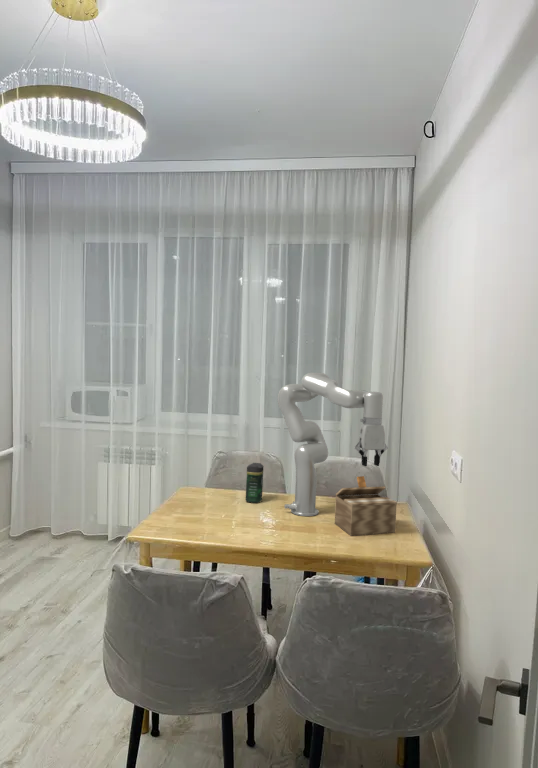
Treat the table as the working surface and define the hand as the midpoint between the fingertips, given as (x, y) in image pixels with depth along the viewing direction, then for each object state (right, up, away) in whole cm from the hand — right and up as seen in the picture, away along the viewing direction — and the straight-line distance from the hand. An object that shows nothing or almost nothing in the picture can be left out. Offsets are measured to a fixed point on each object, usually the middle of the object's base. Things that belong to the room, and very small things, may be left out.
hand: (370, 465), depth 216 cm
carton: (-2, -27, +4) cm, 28 cm away
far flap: (-3, -13, +8) cm, 15 cm away
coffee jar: (-49, -24, +41) cm, 68 cm away
